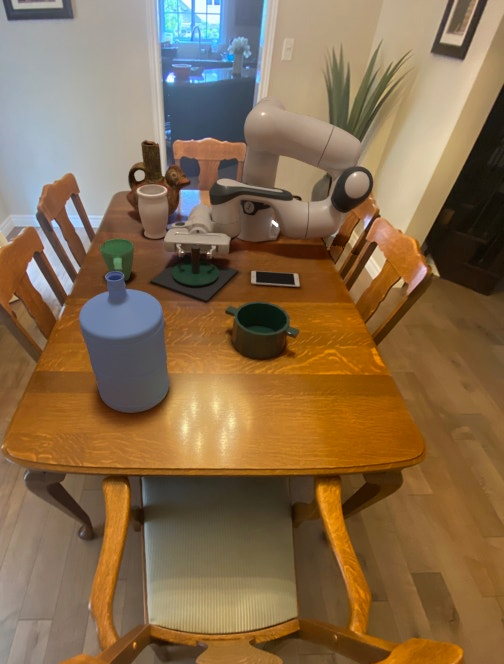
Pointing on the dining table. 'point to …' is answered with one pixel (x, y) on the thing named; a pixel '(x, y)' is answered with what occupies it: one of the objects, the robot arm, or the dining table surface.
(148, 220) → the jar
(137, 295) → the water jug
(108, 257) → the mug
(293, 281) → the smartphone
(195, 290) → the mat
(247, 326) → the pot
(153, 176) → the ceramic vessel
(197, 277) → the lid
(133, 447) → the dining table surface
